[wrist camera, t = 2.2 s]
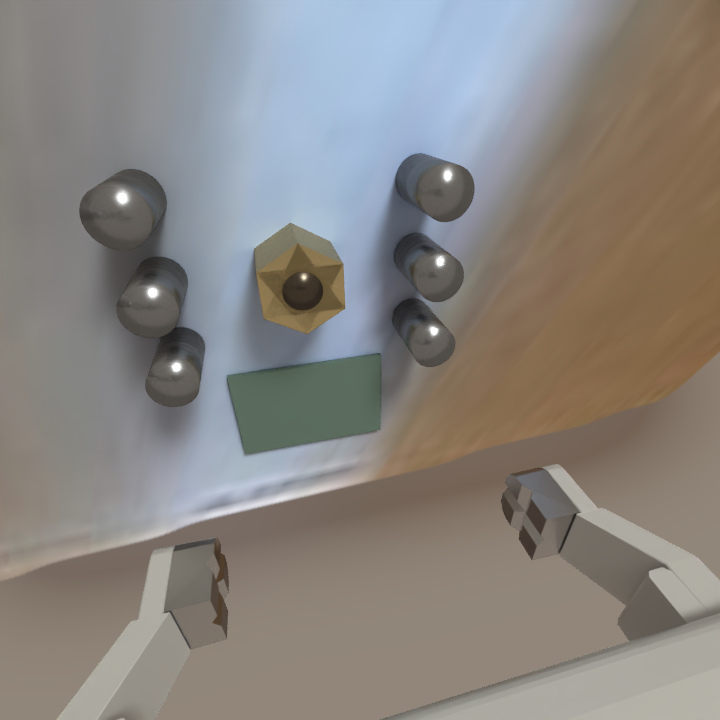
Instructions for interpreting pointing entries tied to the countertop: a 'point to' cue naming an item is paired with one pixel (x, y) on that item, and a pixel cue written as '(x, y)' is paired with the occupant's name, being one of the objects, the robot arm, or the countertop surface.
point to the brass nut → (299, 279)
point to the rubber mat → (307, 402)
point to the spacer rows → (169, 281)
